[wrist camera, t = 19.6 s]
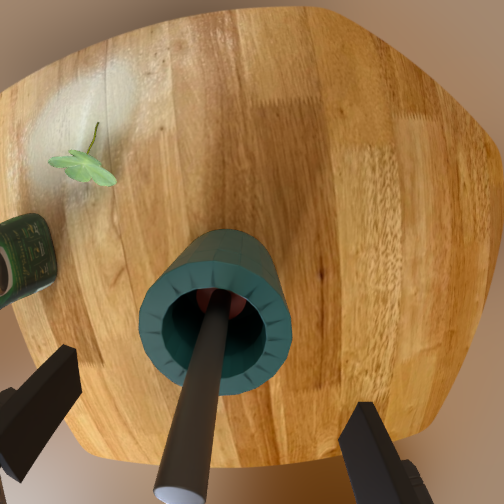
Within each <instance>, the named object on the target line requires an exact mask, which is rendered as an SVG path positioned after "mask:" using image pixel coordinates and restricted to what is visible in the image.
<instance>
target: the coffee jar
mask: <svg viewBox="0 0 504 504" xmlns="http://www.w3.org/2000/svg"><path fill="white" fill-rule="evenodd" d="M56 276H57V263H56V257H55V251H54V247H53V243H52V239H51V235H50V232H49V228H48V225H47V223H46V221H45V220H44V219H43V218H42V217H41V216H40V215H38V214H35V213H30V214H25V215H21V216H18V217H15V218H12V219H9V220H7V221H4V222H2V223H0V309H2V308H3V307H5V306H7V305H9V304H11V303H13V302H15V301H17V300H20V299H22V298H24V297H26V296H29V295H31V294H34V293H36V292H38V291H40V290H42V289H44V288H46V287H48V286H50V285H51V284H52V283H53V282H54V281H55V279H56Z"/></svg>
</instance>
